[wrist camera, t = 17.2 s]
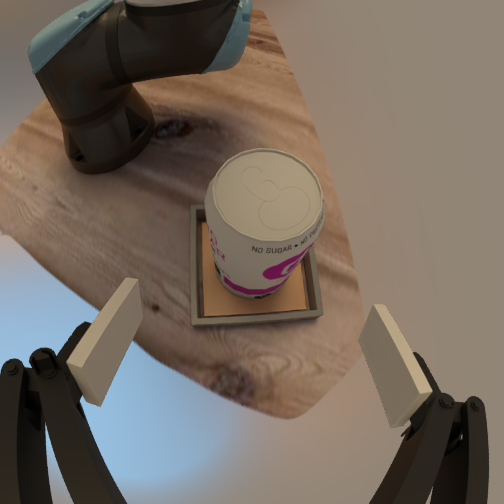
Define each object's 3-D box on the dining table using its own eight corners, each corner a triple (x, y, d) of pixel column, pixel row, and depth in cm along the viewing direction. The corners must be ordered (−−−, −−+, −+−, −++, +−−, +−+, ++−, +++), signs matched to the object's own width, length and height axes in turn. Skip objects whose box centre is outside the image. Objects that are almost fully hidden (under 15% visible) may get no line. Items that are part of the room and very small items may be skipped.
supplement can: (302, 268, 31) (355, 200, 17) (247, 316, 29) (262, 280, 15) (256, 218, 33) (272, 126, 19) (200, 259, 31) (177, 182, 17)
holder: (316, 317, 29) (323, 314, 27) (194, 326, 28) (191, 324, 26) (300, 211, 34) (305, 201, 32) (193, 215, 33) (190, 204, 30)
